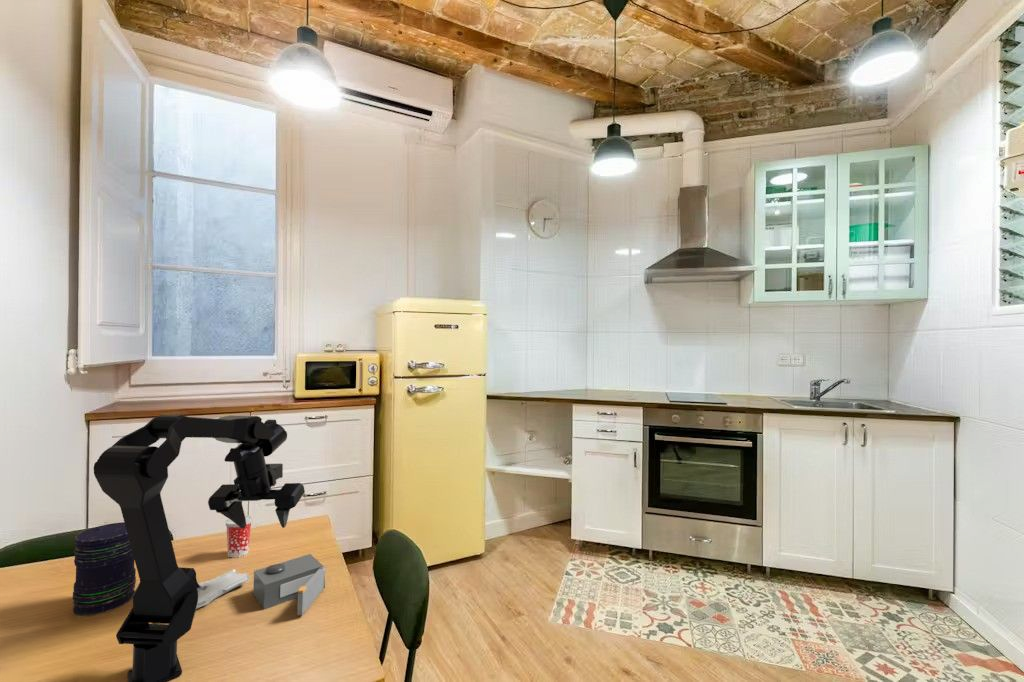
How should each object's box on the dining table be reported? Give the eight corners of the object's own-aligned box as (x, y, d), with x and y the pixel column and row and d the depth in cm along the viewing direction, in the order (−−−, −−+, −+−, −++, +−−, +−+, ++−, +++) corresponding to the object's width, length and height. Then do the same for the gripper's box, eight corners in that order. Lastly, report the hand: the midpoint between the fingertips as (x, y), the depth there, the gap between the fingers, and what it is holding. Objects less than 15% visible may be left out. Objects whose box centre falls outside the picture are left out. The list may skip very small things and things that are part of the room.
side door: (325, 586, 99) (326, 564, 99) (302, 615, 89) (303, 590, 89) (320, 586, 99) (320, 564, 99) (296, 615, 89) (297, 590, 89)
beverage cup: (256, 552, 117) (257, 499, 117) (231, 561, 112) (233, 506, 112) (244, 546, 120) (245, 495, 120) (219, 555, 115) (221, 501, 115)
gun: (225, 560, 105) (252, 570, 101) (226, 574, 105) (252, 585, 101) (133, 603, 89) (160, 618, 84) (134, 620, 89) (160, 635, 84)
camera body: (323, 588, 100) (323, 563, 100) (264, 609, 91) (265, 582, 91) (309, 574, 105) (310, 551, 105) (253, 593, 97) (254, 568, 97)
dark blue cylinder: (146, 593, 97) (149, 525, 97) (94, 619, 87) (96, 543, 88) (114, 586, 99) (116, 519, 100) (59, 611, 90) (62, 537, 90)
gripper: (309, 447, 104) (319, 502, 109) (230, 449, 104) (243, 504, 109) (287, 476, 93) (299, 535, 98) (199, 477, 93) (215, 537, 98)
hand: (264, 526), depth 101 cm, fingers open, 9 cm apart
